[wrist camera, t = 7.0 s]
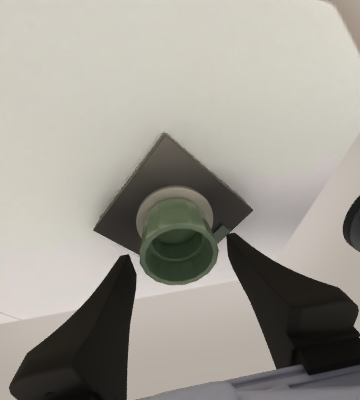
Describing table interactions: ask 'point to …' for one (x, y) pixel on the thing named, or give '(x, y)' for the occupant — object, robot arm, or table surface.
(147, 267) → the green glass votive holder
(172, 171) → the scale
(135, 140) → the table surface
